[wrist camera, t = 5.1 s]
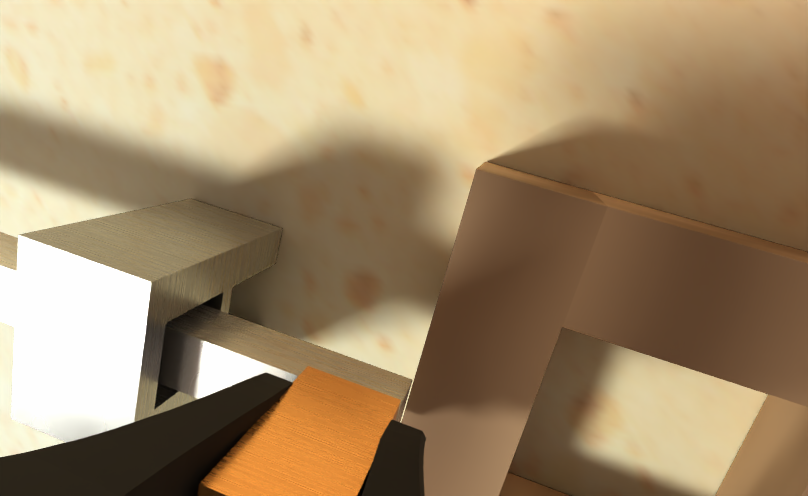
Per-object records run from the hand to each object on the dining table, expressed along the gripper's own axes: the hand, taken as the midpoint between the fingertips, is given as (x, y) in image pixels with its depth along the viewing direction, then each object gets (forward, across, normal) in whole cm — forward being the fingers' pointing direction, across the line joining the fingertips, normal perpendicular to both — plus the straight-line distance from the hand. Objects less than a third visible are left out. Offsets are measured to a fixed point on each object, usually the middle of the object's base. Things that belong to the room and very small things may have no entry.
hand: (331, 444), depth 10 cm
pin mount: (+5, +6, 0) cm, 8 cm away
